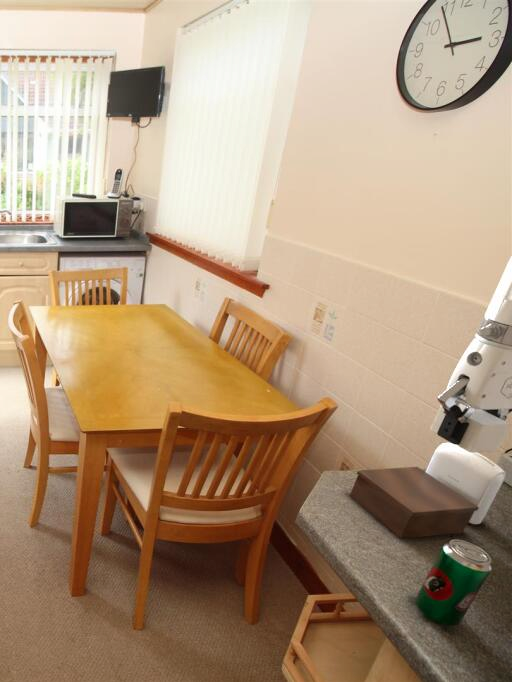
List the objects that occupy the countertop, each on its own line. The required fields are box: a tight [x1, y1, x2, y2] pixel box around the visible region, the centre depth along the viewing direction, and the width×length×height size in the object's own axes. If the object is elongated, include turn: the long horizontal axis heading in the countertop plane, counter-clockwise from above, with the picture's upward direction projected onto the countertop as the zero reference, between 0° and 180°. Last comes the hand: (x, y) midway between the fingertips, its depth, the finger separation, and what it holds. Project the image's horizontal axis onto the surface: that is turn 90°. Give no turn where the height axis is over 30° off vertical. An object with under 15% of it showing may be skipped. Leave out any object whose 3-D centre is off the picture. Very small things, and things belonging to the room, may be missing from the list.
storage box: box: [349, 466, 479, 539], centre depth 88 cm, size 13×11×6 cm
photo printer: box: [425, 442, 507, 525], centre depth 89 cm, size 10×4×12 cm, turn 14°
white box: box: [429, 403, 512, 453], centre depth 76 cm, size 5×6×5 cm
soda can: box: [414, 539, 493, 627], centre depth 67 cm, size 5×5×12 cm
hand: (463, 438), depth 76 cm, fingers closed on white box, 5 cm apart
